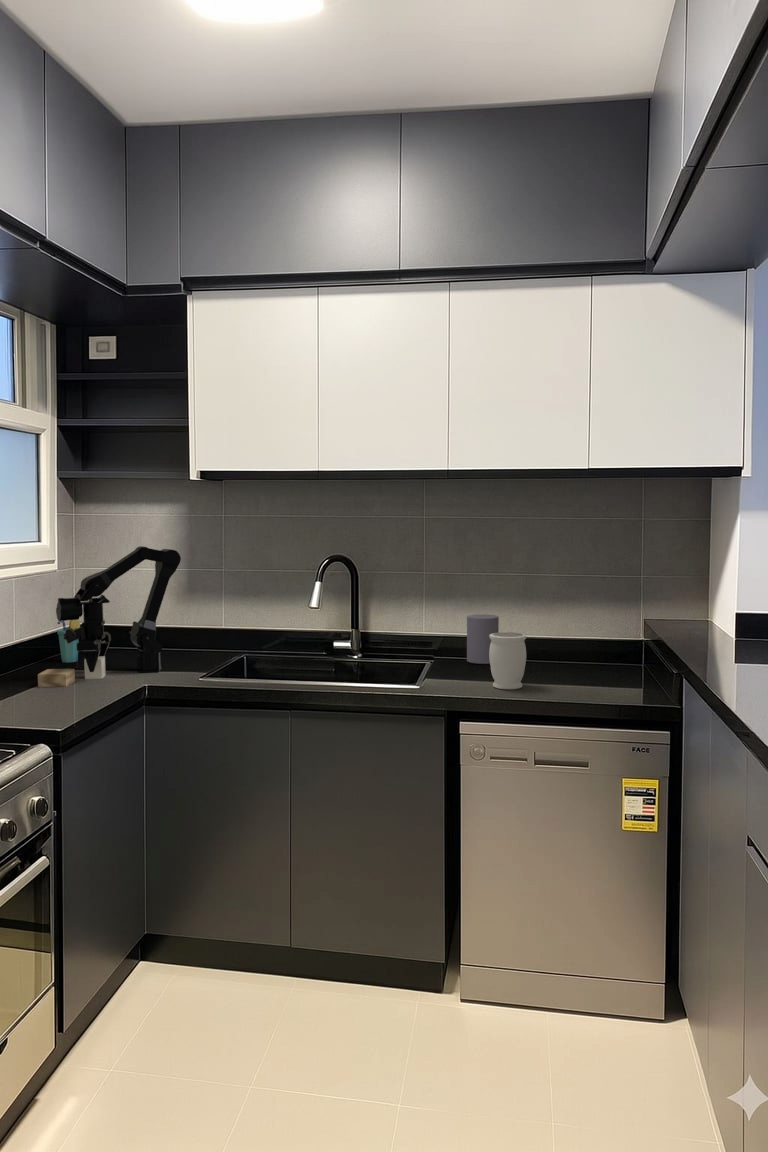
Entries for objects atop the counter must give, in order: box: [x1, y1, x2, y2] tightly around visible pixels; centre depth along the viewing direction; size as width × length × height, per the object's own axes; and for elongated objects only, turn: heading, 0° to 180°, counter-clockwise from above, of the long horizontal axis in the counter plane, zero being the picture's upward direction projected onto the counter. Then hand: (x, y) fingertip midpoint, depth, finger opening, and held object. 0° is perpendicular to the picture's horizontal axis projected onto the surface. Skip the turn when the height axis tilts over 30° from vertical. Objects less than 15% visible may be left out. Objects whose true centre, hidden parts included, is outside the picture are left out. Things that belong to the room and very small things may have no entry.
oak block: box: [37, 668, 76, 688], centre depth 258 cm, size 8×8×4 cm
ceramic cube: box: [83, 655, 106, 680], centre depth 268 cm, size 5×5×6 cm
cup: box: [56, 619, 81, 664], centre depth 293 cm, size 14×8×15 cm, turn 177°
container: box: [466, 613, 500, 665], centre depth 288 cm, size 10×10×15 cm
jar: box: [489, 631, 527, 690], centre depth 249 cm, size 11×10×15 cm
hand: (95, 669), depth 268 cm, fingers open, 9 cm apart
